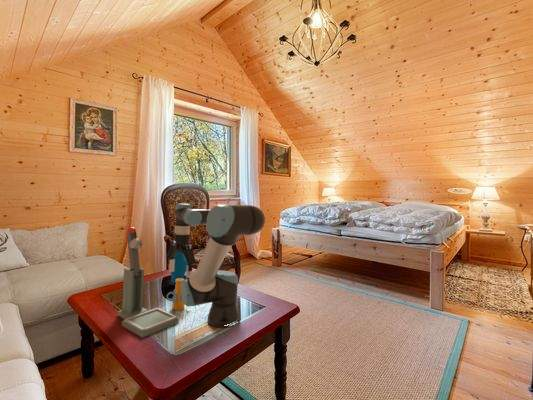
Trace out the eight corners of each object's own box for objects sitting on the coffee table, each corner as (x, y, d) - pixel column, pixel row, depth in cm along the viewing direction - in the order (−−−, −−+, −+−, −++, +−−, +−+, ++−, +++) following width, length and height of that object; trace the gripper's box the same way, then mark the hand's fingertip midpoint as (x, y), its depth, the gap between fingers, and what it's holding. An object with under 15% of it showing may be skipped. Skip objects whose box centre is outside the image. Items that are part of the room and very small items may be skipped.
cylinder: (181, 314, 137) (183, 284, 137) (162, 311, 139) (164, 281, 139) (193, 305, 149) (194, 277, 149) (175, 302, 151) (176, 275, 151)
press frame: (178, 322, 129) (181, 275, 128) (142, 337, 114) (144, 284, 113) (145, 306, 144) (147, 264, 144) (109, 318, 129) (111, 271, 129)
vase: (163, 283, 181) (165, 240, 181) (178, 279, 192) (180, 238, 192) (176, 287, 175) (178, 243, 175) (191, 282, 186) (193, 240, 185)
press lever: (140, 225, 136) (133, 227, 140) (130, 226, 132) (123, 228, 135) (145, 275, 133) (138, 276, 136) (135, 277, 129) (128, 278, 132)
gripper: (204, 236, 140) (202, 278, 140) (172, 230, 154) (170, 268, 154) (192, 237, 134) (190, 281, 134) (161, 231, 148) (159, 270, 148)
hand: (179, 274), depth 144 cm, fingers open, 13 cm apart
